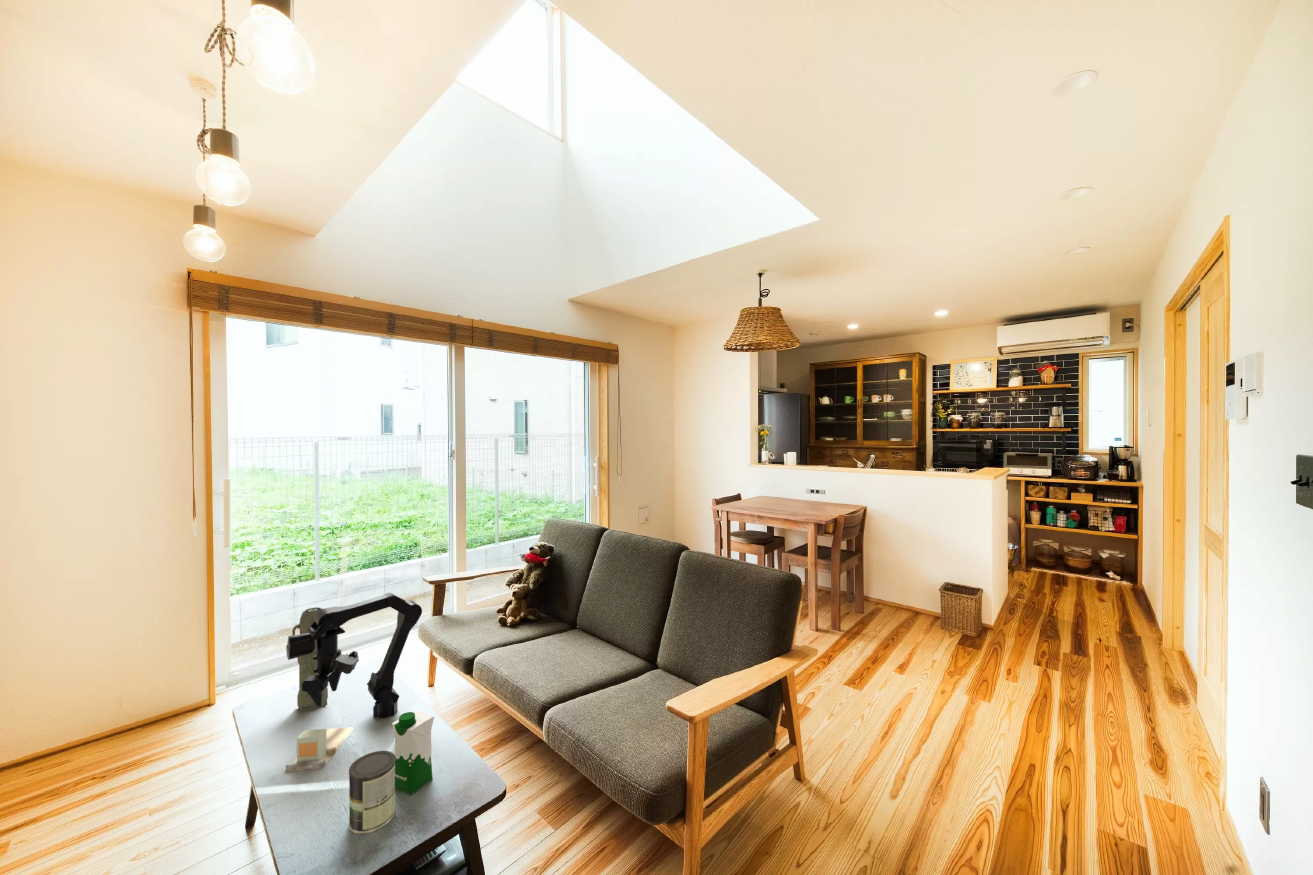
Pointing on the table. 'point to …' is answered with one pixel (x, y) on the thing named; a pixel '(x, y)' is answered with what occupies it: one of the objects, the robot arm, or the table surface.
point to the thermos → (307, 663)
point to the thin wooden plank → (332, 744)
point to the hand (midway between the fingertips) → (327, 698)
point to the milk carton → (412, 751)
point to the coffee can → (371, 792)
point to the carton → (311, 745)
